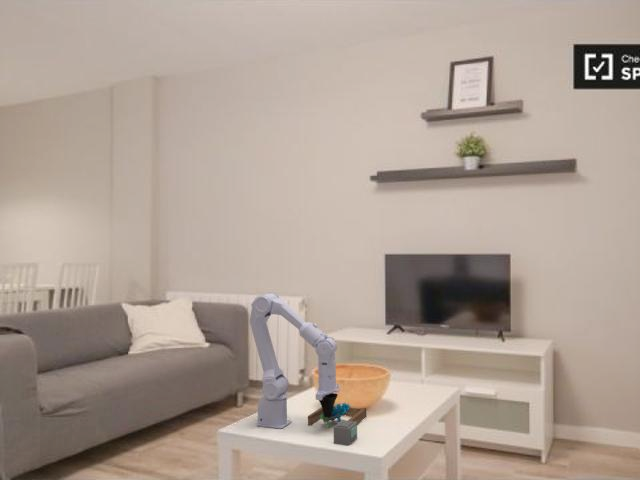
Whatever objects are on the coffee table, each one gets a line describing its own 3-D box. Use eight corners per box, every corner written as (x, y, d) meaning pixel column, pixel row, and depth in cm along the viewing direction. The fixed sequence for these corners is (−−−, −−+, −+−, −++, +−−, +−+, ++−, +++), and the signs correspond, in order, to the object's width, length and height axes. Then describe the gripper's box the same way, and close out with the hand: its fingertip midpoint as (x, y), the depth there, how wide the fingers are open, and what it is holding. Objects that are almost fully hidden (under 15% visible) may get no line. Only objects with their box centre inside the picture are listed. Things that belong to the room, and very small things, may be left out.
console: (333, 443, 173) (333, 426, 173) (342, 436, 180) (341, 419, 180) (349, 445, 171) (349, 428, 171) (357, 438, 177) (357, 421, 177)
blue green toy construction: (344, 413, 198) (351, 398, 191) (351, 428, 195) (358, 413, 188) (315, 422, 193) (321, 407, 187) (322, 437, 190) (329, 423, 183)
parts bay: (307, 425, 191) (307, 415, 191) (325, 412, 205) (325, 403, 205) (351, 430, 185) (350, 420, 185) (366, 417, 199) (366, 407, 199)
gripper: (329, 381, 179) (330, 424, 179) (346, 371, 192) (347, 411, 192) (309, 379, 182) (310, 422, 182) (327, 369, 195) (328, 409, 195)
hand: (327, 416), depth 187 cm, fingers closed
